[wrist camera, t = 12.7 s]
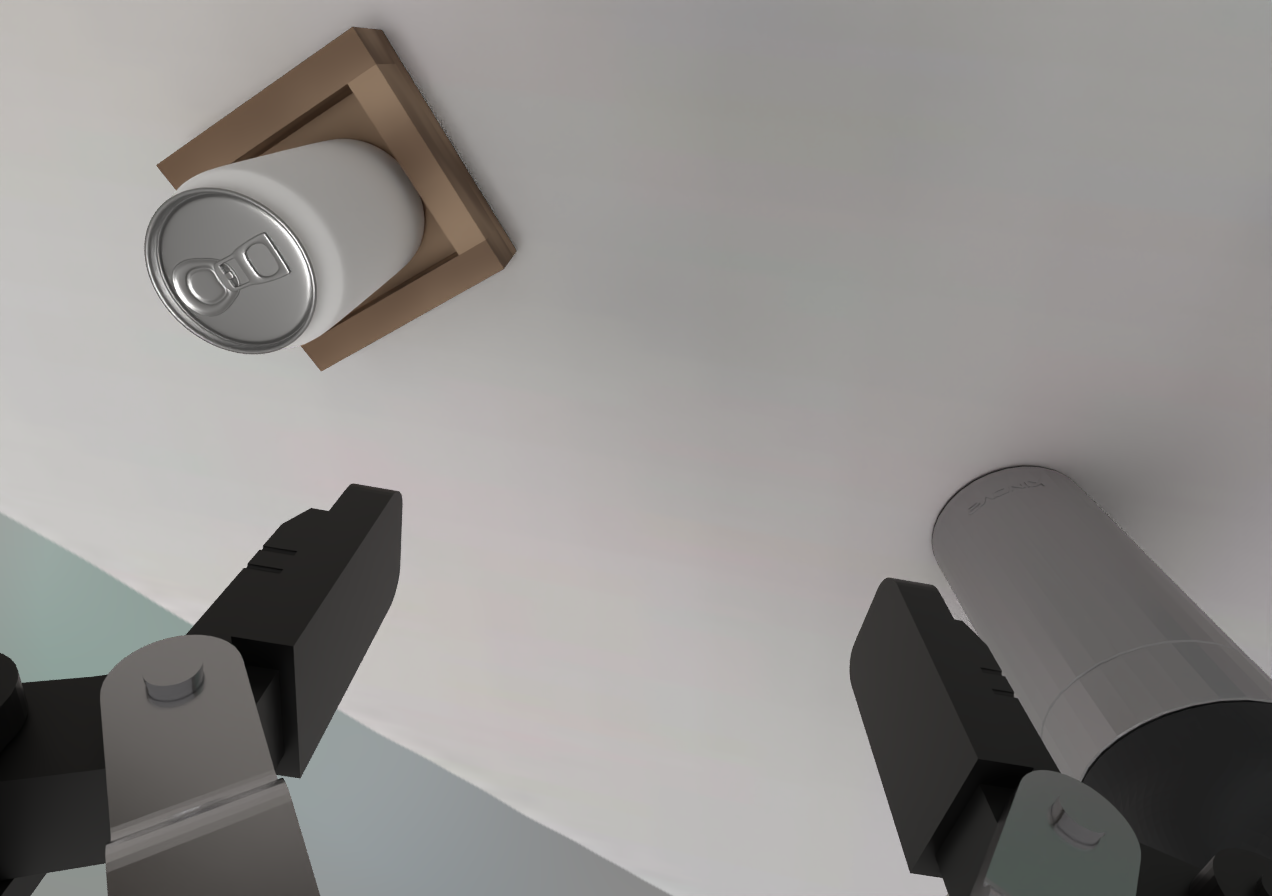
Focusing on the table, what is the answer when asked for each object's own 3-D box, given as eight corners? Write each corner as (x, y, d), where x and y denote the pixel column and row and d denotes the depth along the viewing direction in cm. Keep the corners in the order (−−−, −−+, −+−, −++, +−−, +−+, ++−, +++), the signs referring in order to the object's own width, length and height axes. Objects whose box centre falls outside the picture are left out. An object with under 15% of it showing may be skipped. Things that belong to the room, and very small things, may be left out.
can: (264, 171, 33) (86, 221, 23) (381, 112, 32) (249, 138, 22) (342, 295, 36) (215, 391, 26) (452, 246, 35) (366, 326, 24)
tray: (516, 250, 36) (503, 268, 33) (347, 346, 39) (321, 371, 36) (381, 29, 31) (352, 26, 28) (200, 155, 34) (156, 165, 31)
